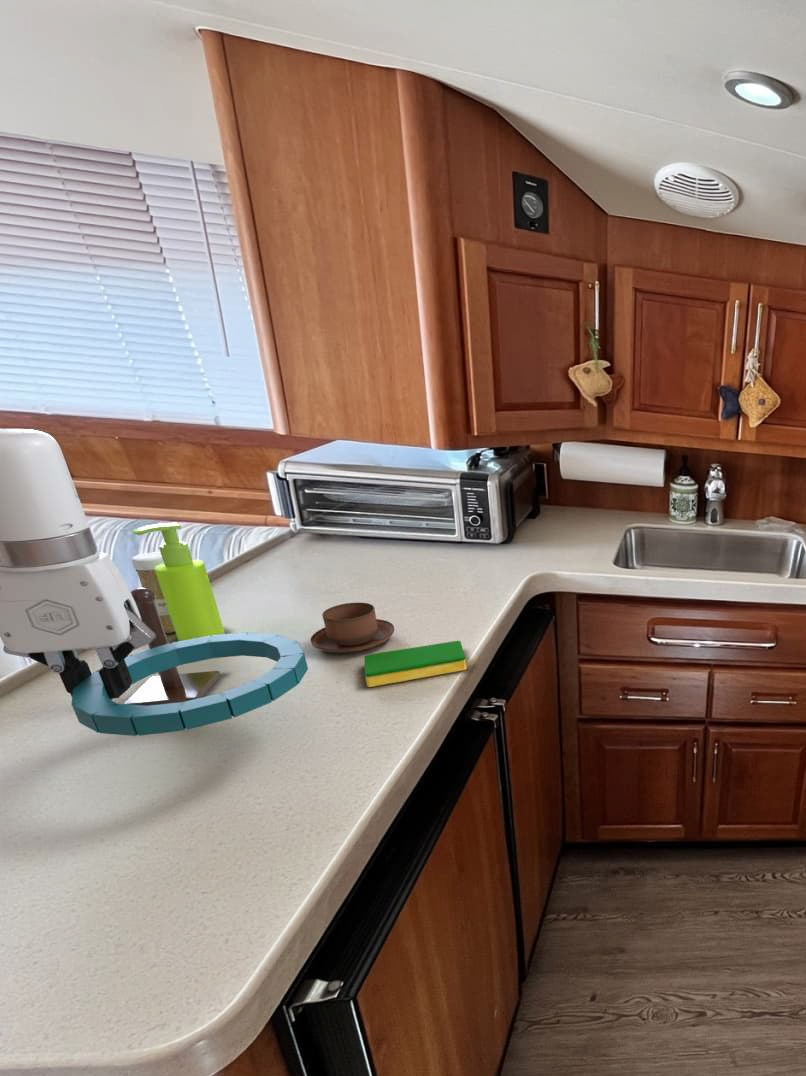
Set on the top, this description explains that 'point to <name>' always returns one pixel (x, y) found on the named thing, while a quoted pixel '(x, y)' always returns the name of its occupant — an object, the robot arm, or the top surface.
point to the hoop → (163, 718)
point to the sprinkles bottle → (153, 584)
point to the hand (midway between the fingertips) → (103, 693)
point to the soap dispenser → (185, 586)
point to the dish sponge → (414, 663)
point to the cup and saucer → (351, 629)
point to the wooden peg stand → (169, 681)
